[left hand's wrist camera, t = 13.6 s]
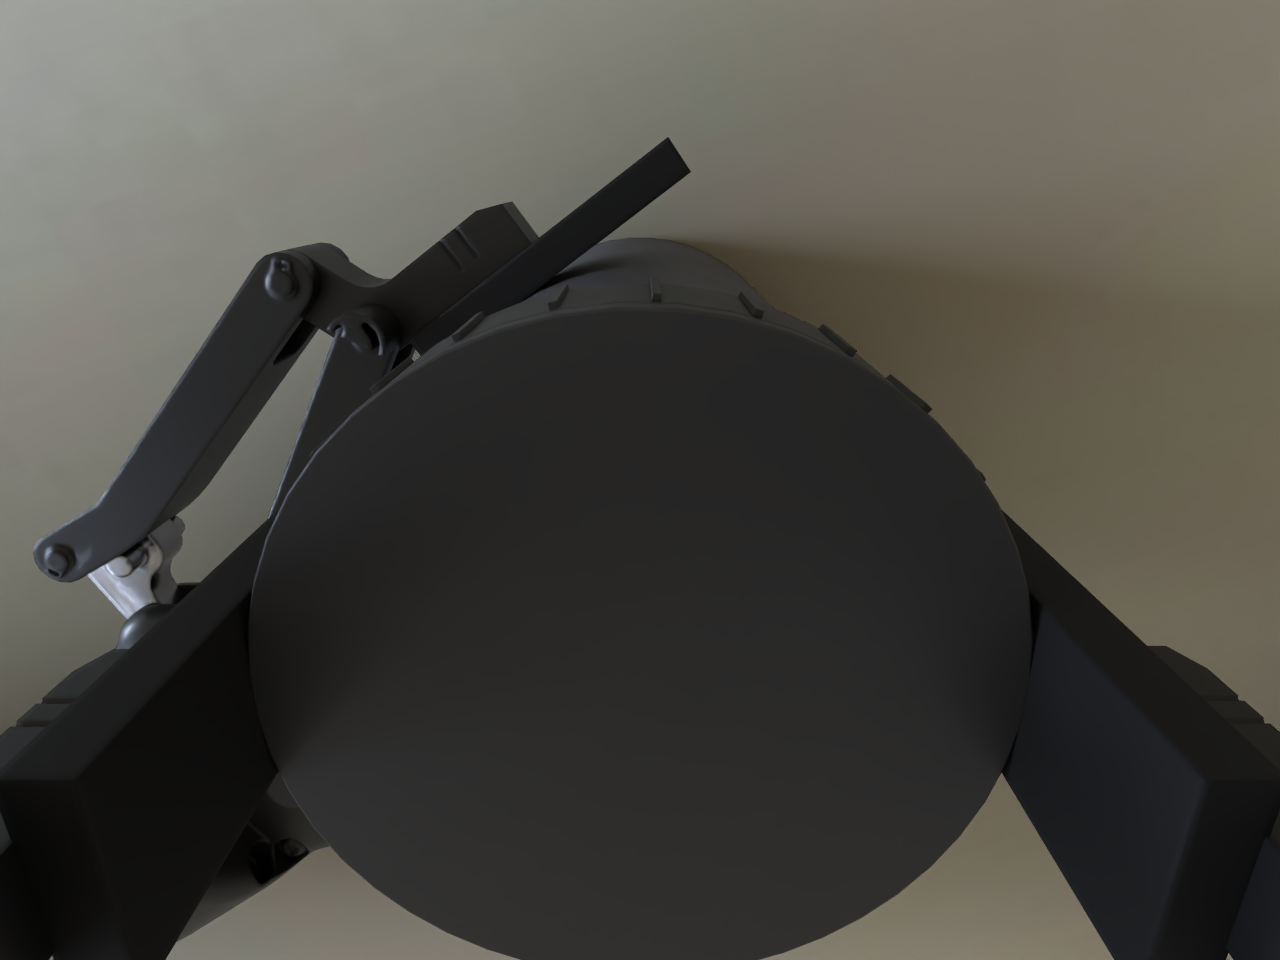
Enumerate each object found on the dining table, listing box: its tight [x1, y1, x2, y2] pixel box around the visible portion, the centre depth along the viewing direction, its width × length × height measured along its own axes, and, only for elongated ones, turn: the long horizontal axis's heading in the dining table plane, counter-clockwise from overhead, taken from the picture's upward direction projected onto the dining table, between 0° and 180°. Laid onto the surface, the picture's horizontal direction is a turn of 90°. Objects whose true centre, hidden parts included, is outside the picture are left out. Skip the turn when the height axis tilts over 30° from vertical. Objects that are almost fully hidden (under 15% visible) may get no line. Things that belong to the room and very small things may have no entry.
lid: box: [247, 277, 1033, 960], centre depth 11 cm, size 10×10×2 cm
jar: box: [521, 238, 770, 306], centre depth 18 cm, size 9×9×15 cm
